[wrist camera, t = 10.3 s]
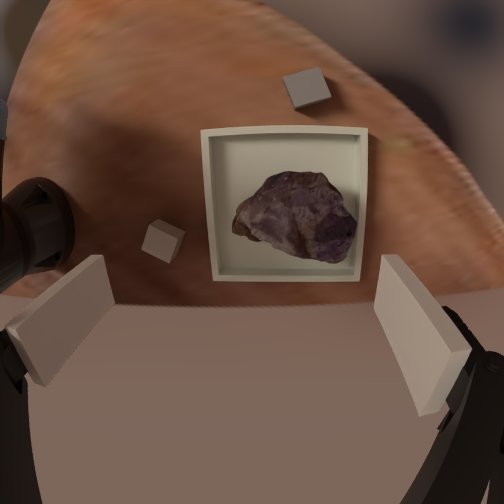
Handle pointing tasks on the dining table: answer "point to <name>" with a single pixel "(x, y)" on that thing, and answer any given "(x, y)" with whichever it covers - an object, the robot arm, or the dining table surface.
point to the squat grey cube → (306, 88)
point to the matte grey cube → (163, 240)
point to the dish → (252, 178)
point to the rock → (298, 217)
